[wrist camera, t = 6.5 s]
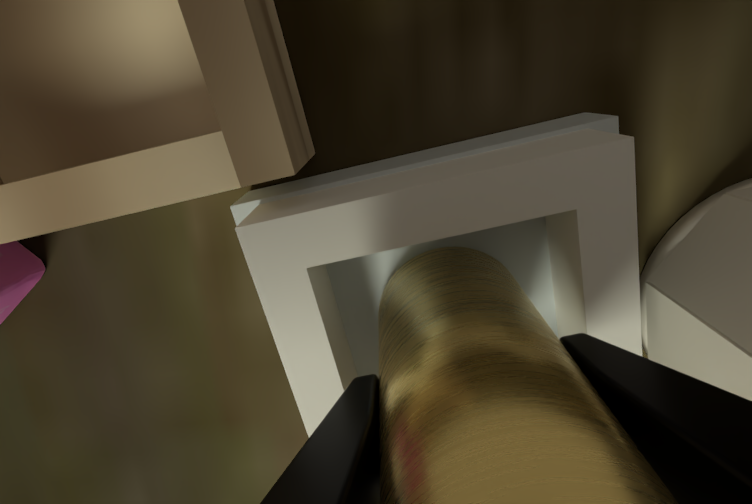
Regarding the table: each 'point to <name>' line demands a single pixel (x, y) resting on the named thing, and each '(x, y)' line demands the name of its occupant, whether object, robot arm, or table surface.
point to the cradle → (446, 241)
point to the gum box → (17, 275)
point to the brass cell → (491, 398)
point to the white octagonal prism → (704, 293)
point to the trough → (139, 107)
